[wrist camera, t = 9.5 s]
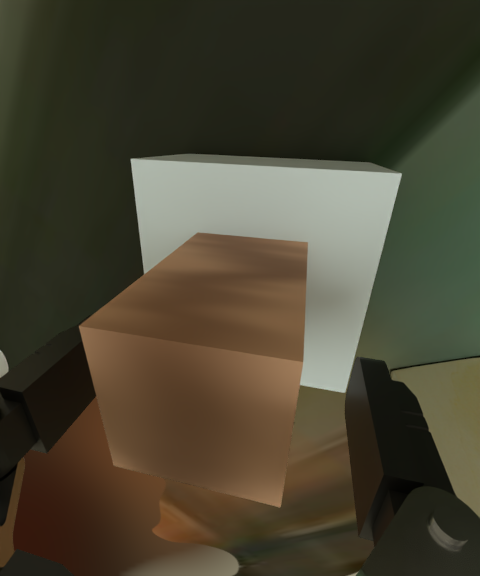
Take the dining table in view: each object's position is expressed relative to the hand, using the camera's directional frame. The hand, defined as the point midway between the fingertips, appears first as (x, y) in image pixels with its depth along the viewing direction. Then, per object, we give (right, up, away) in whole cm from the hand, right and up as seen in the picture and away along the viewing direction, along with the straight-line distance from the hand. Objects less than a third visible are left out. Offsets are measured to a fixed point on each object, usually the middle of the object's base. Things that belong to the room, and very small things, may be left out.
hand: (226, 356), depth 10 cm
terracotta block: (+1, +2, +5) cm, 5 cm away
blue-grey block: (+2, +5, +11) cm, 12 cm away
